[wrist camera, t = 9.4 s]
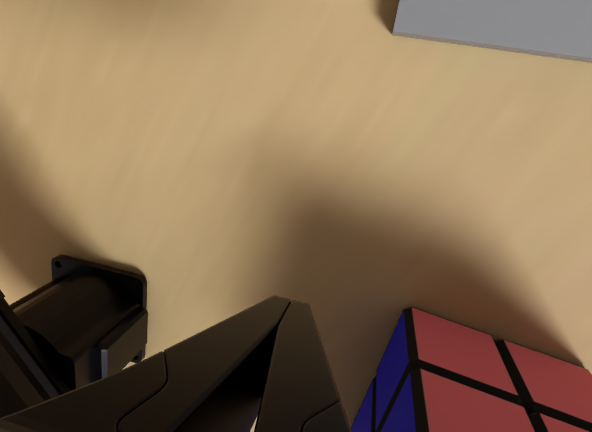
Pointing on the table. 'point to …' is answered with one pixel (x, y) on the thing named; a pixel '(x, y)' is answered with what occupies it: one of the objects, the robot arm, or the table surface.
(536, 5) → the crank base
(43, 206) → the table surface
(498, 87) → the table surface
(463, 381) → the puzzle cube
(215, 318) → the table surface
